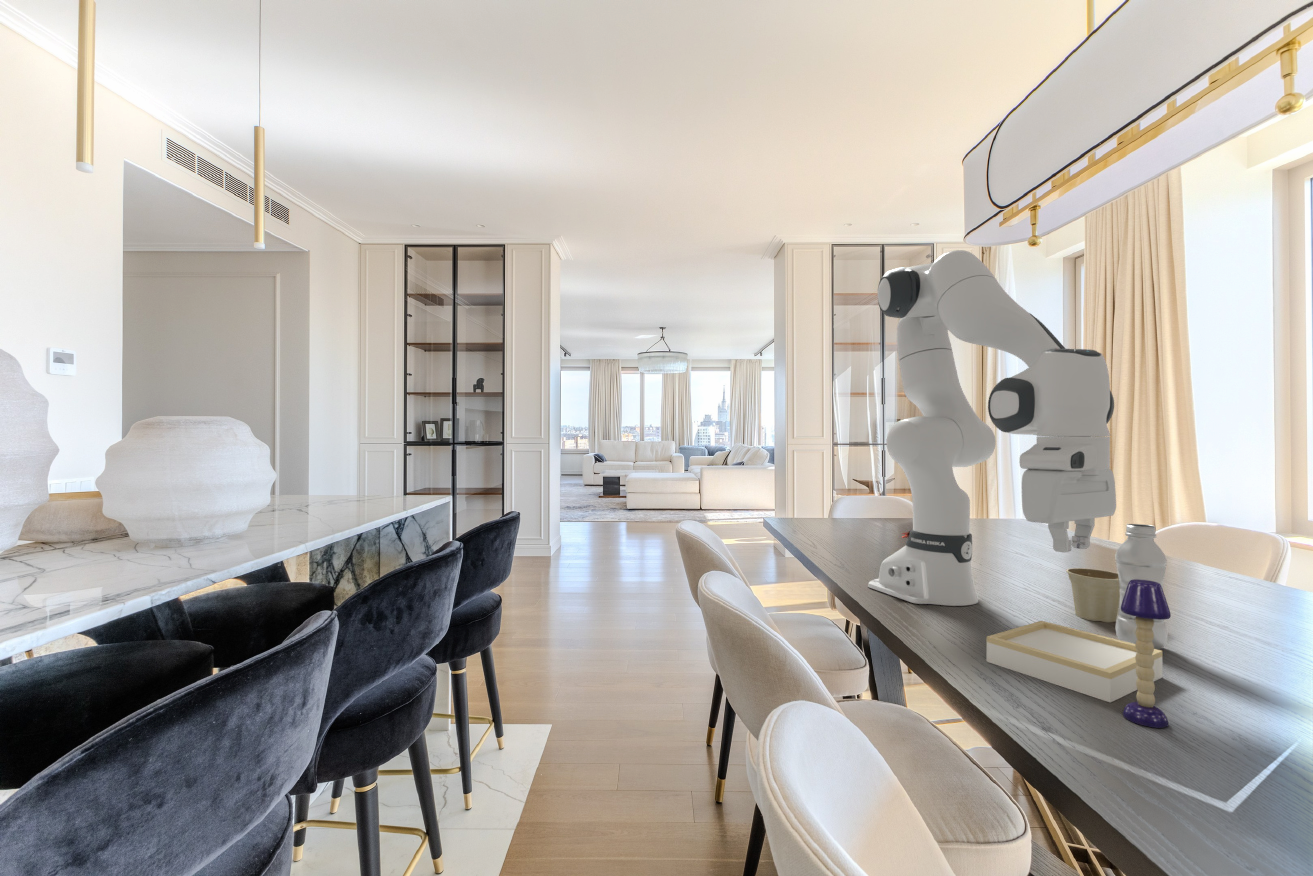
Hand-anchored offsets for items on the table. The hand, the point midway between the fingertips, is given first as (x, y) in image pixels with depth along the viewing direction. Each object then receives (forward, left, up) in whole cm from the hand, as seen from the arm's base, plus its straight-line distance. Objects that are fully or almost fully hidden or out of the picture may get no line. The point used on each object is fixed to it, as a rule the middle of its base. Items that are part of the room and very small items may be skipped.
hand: (1071, 550), depth 86 cm
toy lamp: (+12, -9, -18) cm, 24 cm away
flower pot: (-10, +32, -18) cm, 38 cm away
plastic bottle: (+1, +20, -18) cm, 27 cm away
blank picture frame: (0, 0, -18) cm, 18 cm away
